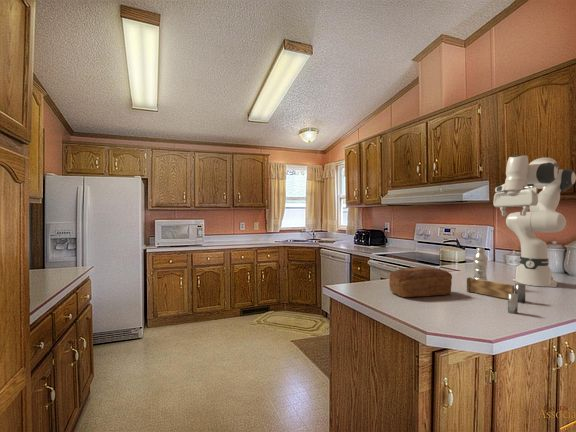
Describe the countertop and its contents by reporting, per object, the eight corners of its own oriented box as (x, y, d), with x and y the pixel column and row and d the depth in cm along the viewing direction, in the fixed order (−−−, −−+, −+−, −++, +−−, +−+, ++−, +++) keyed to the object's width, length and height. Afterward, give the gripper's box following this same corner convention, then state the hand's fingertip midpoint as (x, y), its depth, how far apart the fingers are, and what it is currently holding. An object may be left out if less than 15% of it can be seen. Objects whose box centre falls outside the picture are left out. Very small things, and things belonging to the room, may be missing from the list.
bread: (456, 296, 140) (457, 269, 140) (402, 300, 133) (402, 272, 133) (435, 289, 153) (435, 264, 153) (385, 292, 147) (385, 266, 147)
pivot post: (516, 300, 134) (516, 283, 133) (526, 302, 131) (526, 284, 131) (513, 301, 131) (513, 284, 131) (523, 303, 128) (523, 285, 128)
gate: (514, 299, 134) (514, 284, 134) (512, 300, 132) (512, 285, 132) (469, 290, 149) (469, 277, 149) (466, 291, 147) (466, 278, 147)
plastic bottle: (483, 285, 161) (483, 247, 161) (490, 288, 155) (490, 248, 154) (470, 284, 162) (470, 247, 162) (476, 288, 155) (477, 248, 155)
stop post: (509, 310, 119) (509, 292, 119) (518, 312, 116) (518, 294, 116) (506, 312, 117) (506, 294, 117) (515, 314, 115) (516, 295, 115)
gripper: (542, 186, 139) (540, 216, 139) (502, 190, 159) (499, 216, 159) (532, 184, 138) (529, 214, 137) (492, 188, 158) (489, 215, 157)
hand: (513, 215), depth 148 cm, fingers open, 8 cm apart
